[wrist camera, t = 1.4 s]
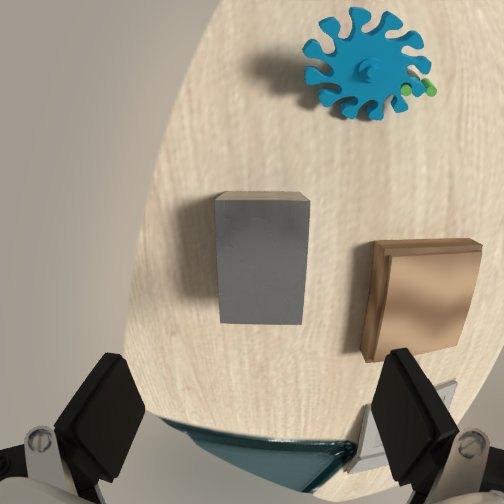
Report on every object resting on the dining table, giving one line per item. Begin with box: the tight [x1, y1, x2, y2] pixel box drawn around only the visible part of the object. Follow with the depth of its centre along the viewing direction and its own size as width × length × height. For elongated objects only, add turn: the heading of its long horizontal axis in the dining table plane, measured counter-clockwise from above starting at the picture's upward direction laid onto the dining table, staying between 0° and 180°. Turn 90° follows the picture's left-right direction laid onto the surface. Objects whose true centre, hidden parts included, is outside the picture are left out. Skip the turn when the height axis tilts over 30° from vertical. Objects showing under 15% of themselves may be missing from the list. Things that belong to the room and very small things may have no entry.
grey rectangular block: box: [215, 191, 310, 325], centre depth 21 cm, size 9×6×6 cm, turn 0°
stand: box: [360, 238, 483, 363], centre depth 23 cm, size 12×12×3 cm
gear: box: [302, 7, 437, 120], centre depth 16 cm, size 11×6×10 cm
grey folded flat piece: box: [346, 378, 457, 474], centre depth 32 cm, size 23×15×4 cm, turn 7°
